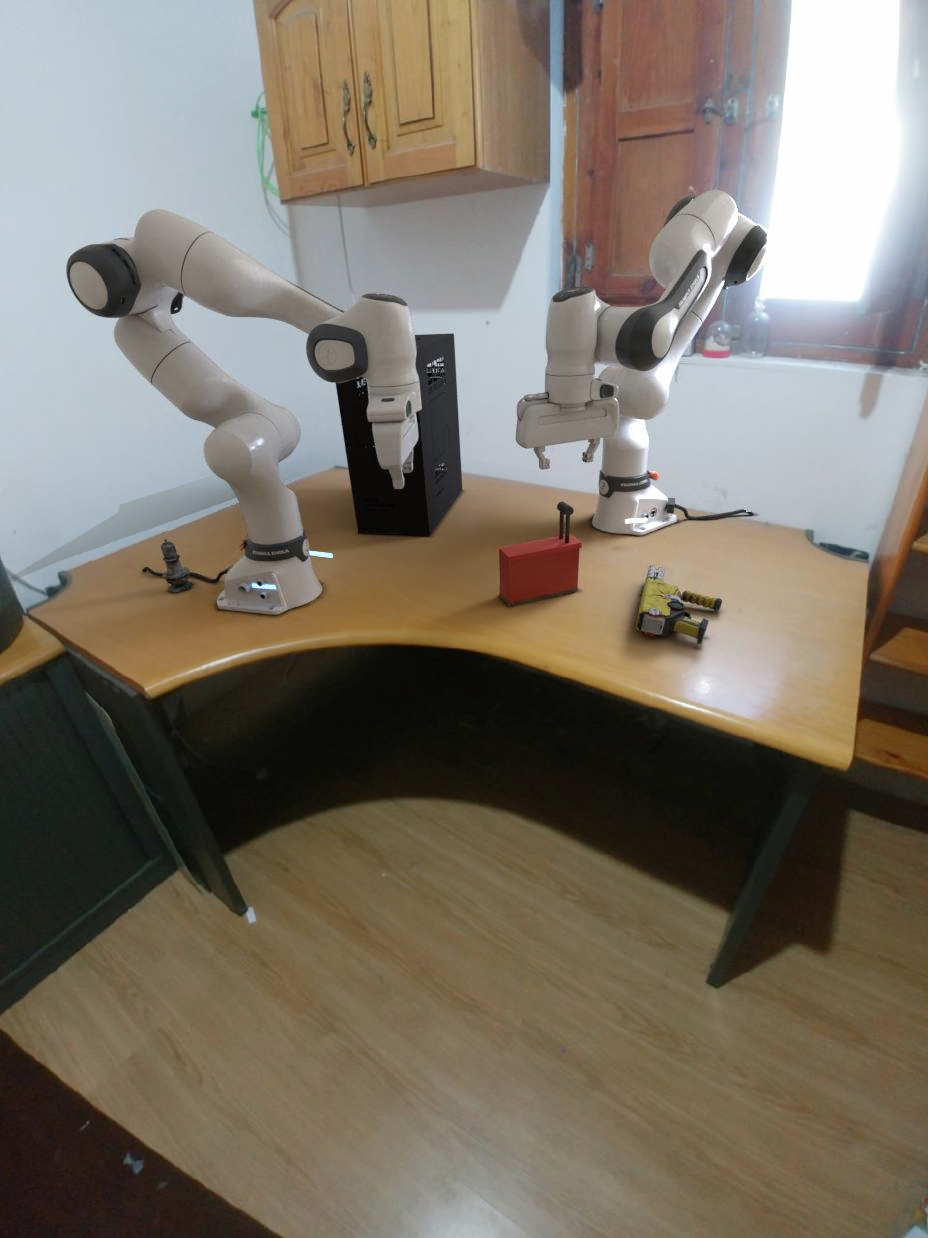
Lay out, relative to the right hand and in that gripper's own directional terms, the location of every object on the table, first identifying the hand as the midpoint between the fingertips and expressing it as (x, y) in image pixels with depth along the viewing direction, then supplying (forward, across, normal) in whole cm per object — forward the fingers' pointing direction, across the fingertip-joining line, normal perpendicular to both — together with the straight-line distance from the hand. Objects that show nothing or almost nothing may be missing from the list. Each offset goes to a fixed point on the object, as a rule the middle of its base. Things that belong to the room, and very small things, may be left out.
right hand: (566, 465), depth 116 cm
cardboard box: (+27, -15, +62) cm, 70 cm away
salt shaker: (+27, -78, +39) cm, 91 cm away
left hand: (-1, -31, +4) cm, 32 cm away
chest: (+27, -6, 0) cm, 27 cm away
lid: (+17, -5, 0) cm, 18 cm away
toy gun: (+27, +16, -20) cm, 36 cm away
